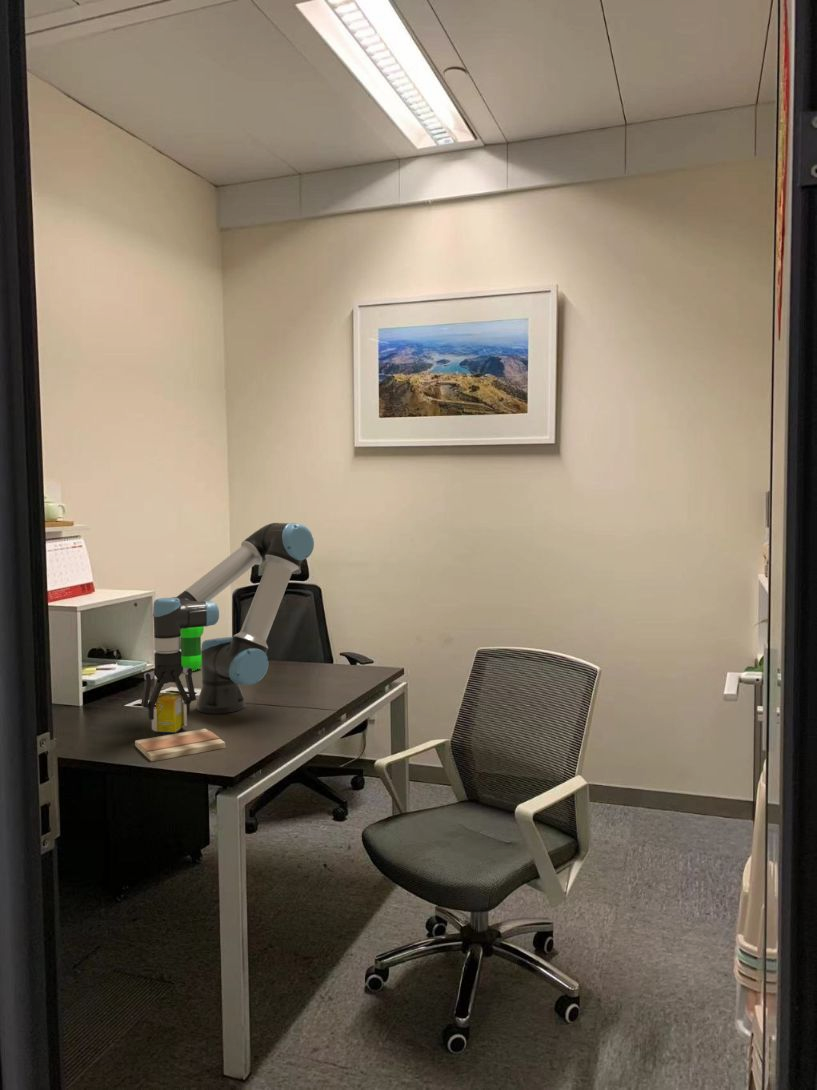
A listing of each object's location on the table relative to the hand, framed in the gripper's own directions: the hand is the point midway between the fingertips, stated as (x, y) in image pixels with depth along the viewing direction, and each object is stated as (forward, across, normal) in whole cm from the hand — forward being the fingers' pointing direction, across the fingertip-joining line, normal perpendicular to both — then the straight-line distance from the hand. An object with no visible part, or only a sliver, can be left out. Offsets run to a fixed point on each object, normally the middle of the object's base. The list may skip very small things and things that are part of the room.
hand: (169, 727), depth 230 cm
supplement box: (+1, 0, 0) cm, 1 cm away
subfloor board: (+1, +2, +16) cm, 16 cm away
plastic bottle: (+1, -33, -80) cm, 87 cm away
